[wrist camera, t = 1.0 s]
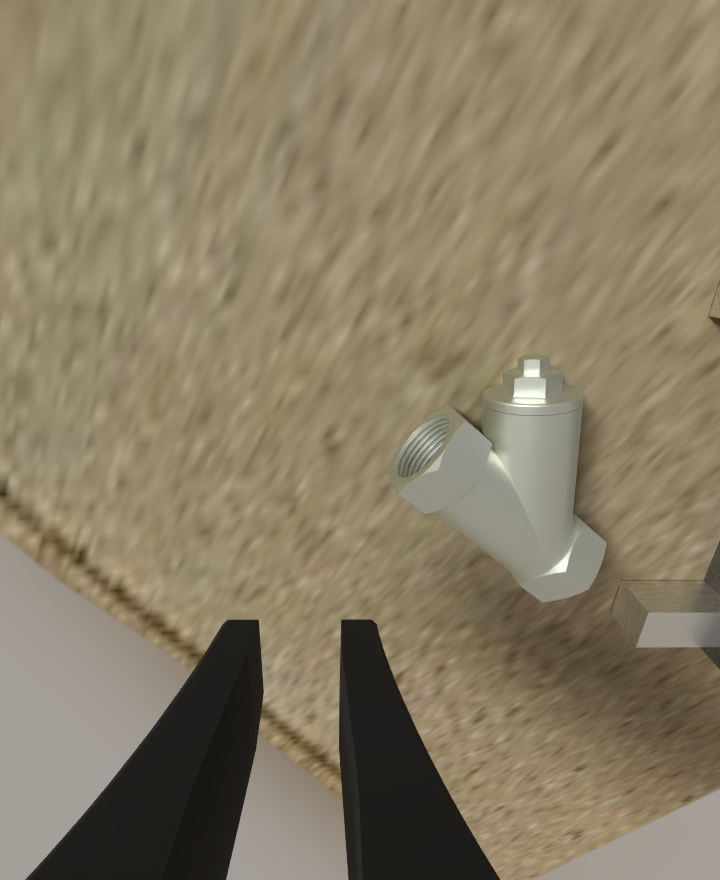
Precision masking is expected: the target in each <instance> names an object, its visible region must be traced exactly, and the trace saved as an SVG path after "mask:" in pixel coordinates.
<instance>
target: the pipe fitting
mask: <svg viewBox="0 0 720 880" xmlns="http://www.w3.org/2000/svg"><path fill="white" fill-rule="evenodd" d="M548 364H549V358H548V357H547V356H544V355H525V356H521V357H519V358H518V368H513V369H510V370H508V371H506V372H504V373H503V384H499V385H495V386H492V387H489V388H487V389H486V390H485V391H484V392H483V412H482V434H481V433H480V432H479V431H478V430H477V429H476V428H475V427H474V426H473V425H471V424H470V423H469V422H468V421H467V420H466V419H465V418H463V417H462V416H461V415H460V414H459V413H458V412H456V411H455V410H454V409H453V408H452V407H451V406H450V405H449V406H446V407H444V408H441V409H439V410H437V411H435V412H434V413H432V414H430V415H429V416H427V417H426V418H425V419H424V420H422V421H421V422H420V423H419V424H418V425H417V426H416V427H415V428H414V429H413V430H412V431H411V432H410V434H409V435H408V436H407V437H406V438H405V440H404V441H403V443H402V444H401V446H400V447H399V449H398V451H397V452H396V454H395V456H394V458H393V461H392V464H391V467H390V470H389V477H390V480H391V482H392V485H393V487H394V488H395V490H396V492H397V493H398V494H399V495H400V496H401V497H403V498H404V499H405V500H407V501H408V502H409V503H410V504H412V505H413V506H414V507H416V508H417V509H418V510H420V511H421V512H422V513H424V514H428V513H432V512H433V513H435V514H436V515H437V516H439V517H440V518H441V519H443V520H444V521H445V522H447V523H448V524H449V525H451V526H452V527H453V528H454V529H456V530H457V531H458V532H460V533H461V534H462V535H464V536H465V537H466V538H468V539H469V540H470V541H472V542H473V543H474V544H476V545H477V546H478V547H480V548H481V549H482V550H483V551H485V552H486V553H487V554H489V555H490V556H491V557H493V558H494V559H495V560H497V561H498V562H499V563H501V564H502V565H503V566H504V567H506V568H507V569H508V570H509V572H510V573H511V575H512V576H513V577H514V579H515V580H516V581H517V582H518V584H519V585H520V586H521V587H522V588H524V589H525V590H526V591H528V592H529V593H530V594H531V595H533V596H534V597H535V598H537V599H538V600H539V601H541V602H549V601H556V600H560V599H565V598H569V597H572V596H575V595H578V594H580V593H582V592H584V591H586V590H588V589H589V588H590V586H591V585H592V583H593V581H594V580H595V578H596V576H597V574H598V572H599V569H600V567H601V564H602V561H603V558H604V554H605V550H606V545H607V542H605V541H604V540H603V539H602V538H601V537H600V536H599V535H598V534H597V533H595V532H594V531H593V530H592V529H591V528H590V527H589V526H588V525H587V524H585V523H584V522H583V521H582V520H581V519H580V518H579V517H578V516H576V515H575V514H574V513H573V507H574V497H575V486H576V475H577V465H578V454H579V443H580V432H581V422H582V411H583V400H584V393H583V392H582V391H581V390H580V389H578V388H576V387H573V386H570V385H566V384H563V375H564V374H563V373H562V372H561V371H559V370H557V369H554V368H549V367H548Z"/></svg>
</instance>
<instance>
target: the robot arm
mask: <svg viewBox="0 0 720 880" xmlns="http://www.w3.org/2000/svg"><path fill="white" fill-rule="evenodd" d="M263 693H264V690H263V675H262V661H261V646H260V632H259V620H227V621H226V622H225V623H224V624H223V625H222V626H221V628H220V630H219V631H218V633H217V635H216V636H215V638H214V640H213V641H212V643H211V644H210V646H209V648H208V649H207V651H206V652H205V654H204V655H203V657H202V658H201V660H200V662H199V663H198V665H197V666H196V668H195V669H194V671H193V672H192V673H191V675H190V677H189V678H188V679H187V681H186V682H185V684H184V685H183V687H182V688H181V689H180V691H179V692H178V694H177V695H176V696H175V698H174V699H173V701H172V702H171V704H170V705H169V706H168V708H167V709H166V710H165V712H164V713H163V715H162V716H161V717H160V719H159V720H158V722H157V723H156V724H155V726H154V727H153V728H152V730H151V731H150V732H149V734H148V735H147V736H146V738H145V739H144V740H143V741H142V743H141V744H140V745H139V747H138V748H137V749H136V750H135V751H134V753H133V754H132V755H131V757H130V758H129V759H128V760H127V762H126V763H125V764H124V766H123V767H122V768H121V769H120V771H119V772H118V773H117V774H116V776H115V777H114V779H113V780H112V781H111V782H110V783H109V785H108V786H107V787H106V788H105V789H104V791H103V792H102V793H101V794H100V795H99V797H98V798H97V799H96V800H95V801H94V803H93V804H92V805H91V806H90V807H89V809H88V810H87V811H86V812H85V813H84V814H83V816H82V817H81V818H80V819H79V820H78V821H77V823H76V824H75V825H74V826H73V827H72V828H71V829H70V831H69V832H68V833H67V834H66V835H65V836H64V837H63V839H62V840H61V841H60V842H59V843H58V844H57V845H56V847H55V848H54V849H53V850H52V851H51V852H50V853H49V854H48V856H47V857H46V858H45V859H44V860H43V861H42V862H41V863H40V864H39V866H38V867H37V868H36V869H35V870H34V871H33V872H32V873H31V874H30V875H29V876H28V877H27V879H26V880H226V877H227V873H228V868H229V864H230V860H231V856H232V851H233V847H234V843H235V838H236V834H237V829H238V825H239V821H240V817H241V812H242V808H243V804H244V799H245V795H246V791H247V786H248V782H249V777H250V773H251V769H252V764H253V759H254V755H255V751H256V745H257V737H258V731H259V724H260V716H261V708H262V701H263ZM339 753H340V767H341V781H342V795H343V809H344V822H345V837H346V850H347V864H348V878H349V880H500V879H499V877H498V875H497V874H496V872H495V871H494V869H493V867H492V866H491V864H490V862H489V861H488V859H487V858H486V856H485V854H484V853H483V851H482V849H481V848H480V846H479V844H478V843H477V841H476V839H475V838H474V836H473V834H472V832H471V831H470V829H469V827H468V826H467V824H466V822H465V821H464V819H463V817H462V815H461V814H460V812H459V810H458V808H457V806H456V805H455V803H454V801H453V799H452V798H451V796H450V794H449V792H448V790H447V788H446V786H445V785H444V783H443V781H442V779H441V777H440V775H439V773H438V771H437V769H436V767H435V765H434V764H433V762H432V760H431V758H430V756H429V754H428V752H427V750H426V748H425V746H424V744H423V742H422V740H421V738H420V736H419V734H418V732H417V729H416V727H415V725H414V723H413V720H412V718H411V716H410V714H409V712H408V709H407V707H406V705H405V703H404V701H403V698H402V696H401V694H400V691H399V689H398V687H397V684H396V682H395V679H394V677H393V674H392V671H391V669H390V666H389V664H388V661H387V658H386V655H385V652H384V649H383V646H382V643H381V639H380V636H379V632H378V628H377V624H376V623H375V622H374V621H373V620H341V657H340V704H339Z"/></svg>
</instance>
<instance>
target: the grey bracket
mask: <svg viewBox="0 0 720 880" xmlns="http://www.w3.org/2000/svg"><path fill="white" fill-rule="evenodd" d="M709 316H710V317H716V318H720V283H719V286H718V289H717V292H716V295H715V298H714V302H713V305H712V308H711V311H710V314H709ZM611 615H612V616H613V618H614V619H615V620H616V622H617V623H618V624H619V626H620V627H621V628H622V630H623V631H624V632H625V634H626V635H627V636H628V638H629V639H630V640H631V642H632V643H633V644H634V646H635V647H700V648H701V649H702V650H703V651H704V652H705V653H706V654H707V655H708V657H709V658H710V659H711V660H712V661H713V662H714V663H715V664H716V665H717V666H718V668H719V669H720V543H719V546H718V548H717V551H716V553H715V555H714V558H713V560H712V563H711V565H710V567H709V570H708V572H707V574H706V577H705V579H704V581H621V584H620V587H619V590H618V593H617V596H616V599H615V602H614V605H613V608H612V611H611Z"/></svg>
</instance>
